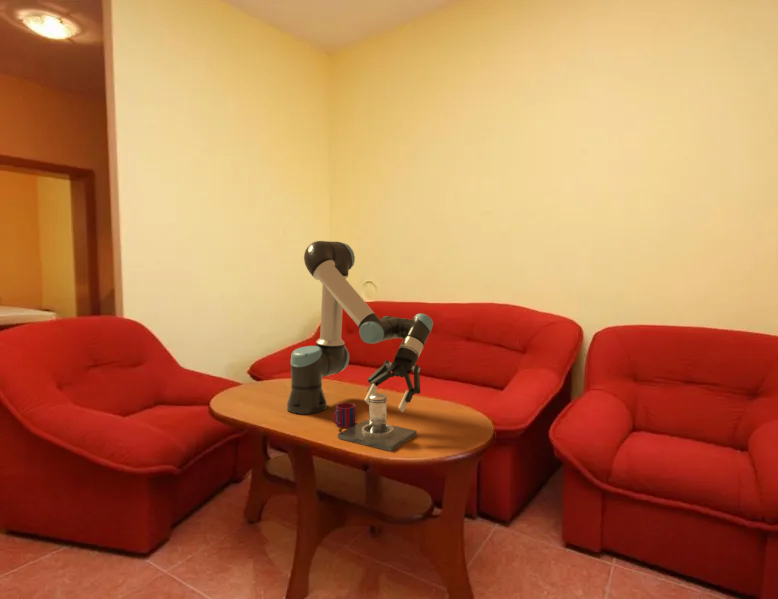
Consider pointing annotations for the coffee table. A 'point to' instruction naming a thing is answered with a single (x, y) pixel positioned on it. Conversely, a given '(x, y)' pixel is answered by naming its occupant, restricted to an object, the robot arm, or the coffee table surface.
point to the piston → (377, 413)
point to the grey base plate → (378, 436)
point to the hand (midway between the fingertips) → (383, 406)
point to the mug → (345, 415)
